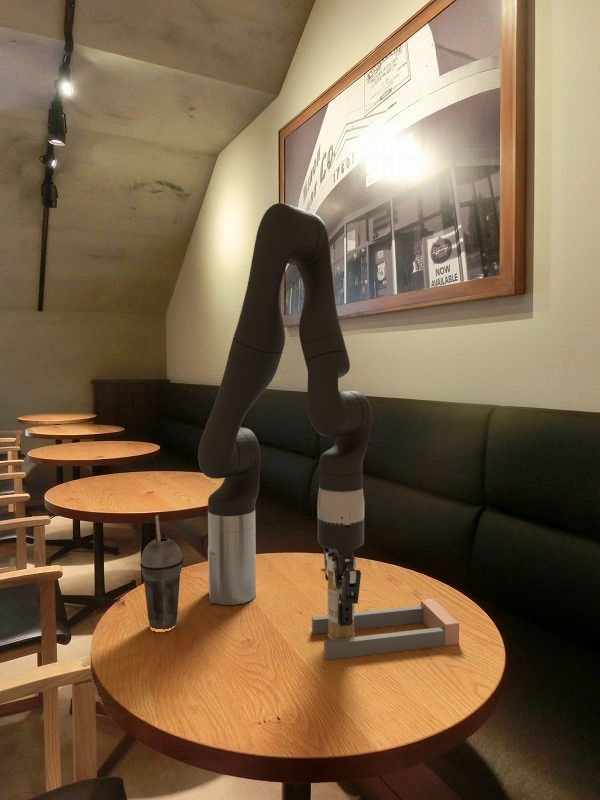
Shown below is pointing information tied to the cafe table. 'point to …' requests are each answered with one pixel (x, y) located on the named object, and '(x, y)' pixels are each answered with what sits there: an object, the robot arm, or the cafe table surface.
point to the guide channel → (429, 612)
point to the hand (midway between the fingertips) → (340, 617)
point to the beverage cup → (161, 580)
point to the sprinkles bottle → (336, 610)
